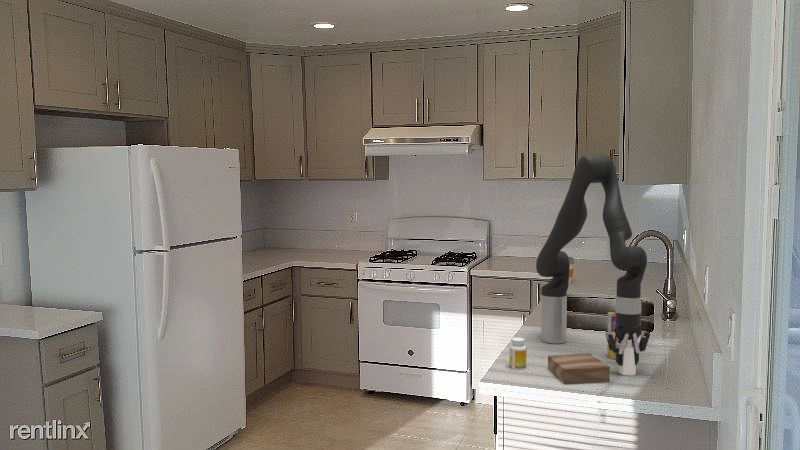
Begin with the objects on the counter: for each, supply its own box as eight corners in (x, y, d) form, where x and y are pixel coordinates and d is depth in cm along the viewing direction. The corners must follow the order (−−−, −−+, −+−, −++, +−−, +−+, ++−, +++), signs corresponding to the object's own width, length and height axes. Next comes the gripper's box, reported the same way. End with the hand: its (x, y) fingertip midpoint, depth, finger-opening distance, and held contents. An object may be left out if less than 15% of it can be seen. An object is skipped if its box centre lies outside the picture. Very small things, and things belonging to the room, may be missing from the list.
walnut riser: (547, 371, 201) (548, 355, 201) (589, 368, 203) (589, 353, 203) (564, 385, 188) (564, 369, 187) (609, 383, 189) (609, 366, 189)
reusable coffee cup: (572, 287, 337) (572, 259, 336) (548, 286, 342) (548, 259, 340) (575, 283, 349) (575, 256, 348) (551, 282, 353) (552, 255, 352)
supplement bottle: (506, 368, 203) (506, 339, 203) (515, 364, 207) (515, 335, 206) (520, 371, 200) (520, 342, 199) (529, 367, 204) (529, 338, 203)
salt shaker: (615, 370, 200) (616, 336, 199) (633, 370, 200) (633, 336, 199) (621, 375, 194) (621, 340, 194) (638, 375, 194) (639, 340, 193)
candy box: (632, 355, 216) (633, 311, 214) (637, 359, 211) (638, 314, 210) (606, 355, 216) (607, 311, 214) (610, 359, 212) (611, 314, 210)
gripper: (644, 307, 200) (643, 360, 201) (600, 308, 198) (600, 362, 200) (656, 312, 192) (655, 367, 194) (611, 314, 191) (610, 369, 192)
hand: (627, 364), depth 197 cm, fingers closed on salt shaker, 4 cm apart
